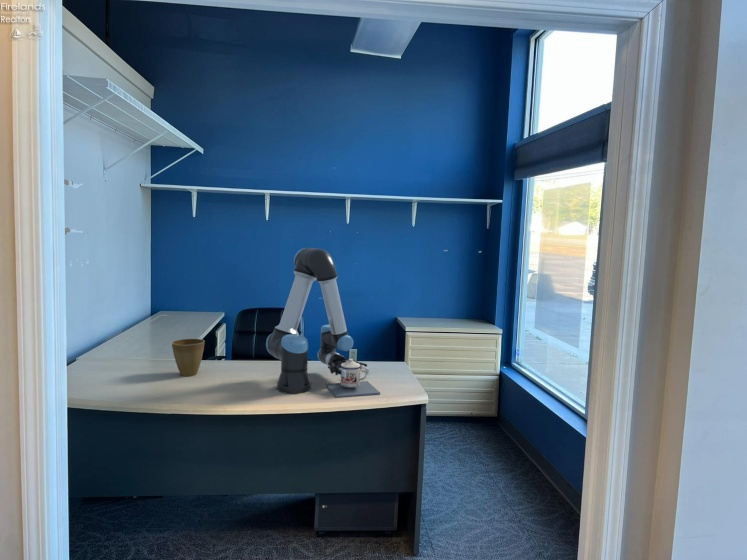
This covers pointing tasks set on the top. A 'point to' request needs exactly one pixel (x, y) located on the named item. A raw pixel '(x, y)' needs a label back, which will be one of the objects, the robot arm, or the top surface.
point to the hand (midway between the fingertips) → (357, 373)
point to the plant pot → (188, 355)
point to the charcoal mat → (352, 390)
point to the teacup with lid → (351, 374)
